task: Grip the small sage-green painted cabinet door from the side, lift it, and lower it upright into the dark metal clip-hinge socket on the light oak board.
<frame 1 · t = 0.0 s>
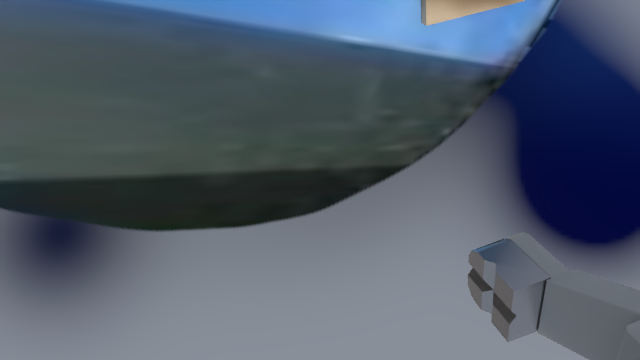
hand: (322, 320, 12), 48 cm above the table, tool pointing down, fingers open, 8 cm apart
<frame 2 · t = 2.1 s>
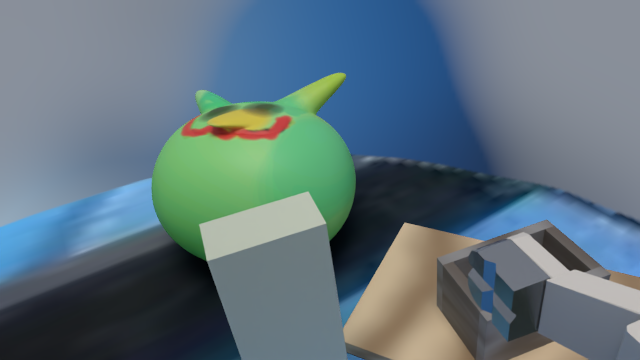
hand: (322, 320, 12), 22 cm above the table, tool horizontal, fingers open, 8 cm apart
toy bird: (271, 238, 49), on the table
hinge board: (497, 320, 38), on the table
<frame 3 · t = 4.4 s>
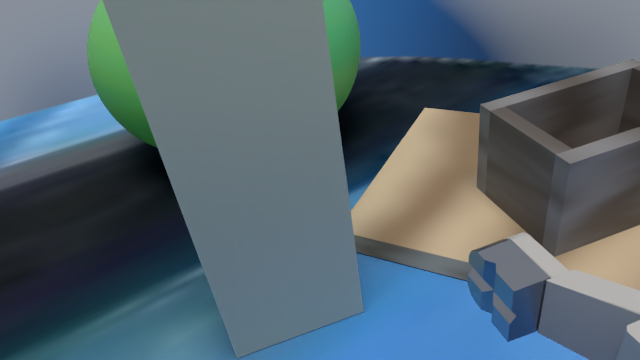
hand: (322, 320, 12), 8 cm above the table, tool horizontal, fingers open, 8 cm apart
cabinet door: (292, 310, 24), on the table
toy bird: (252, 138, 38), on the table
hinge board: (563, 206, 27), on the table
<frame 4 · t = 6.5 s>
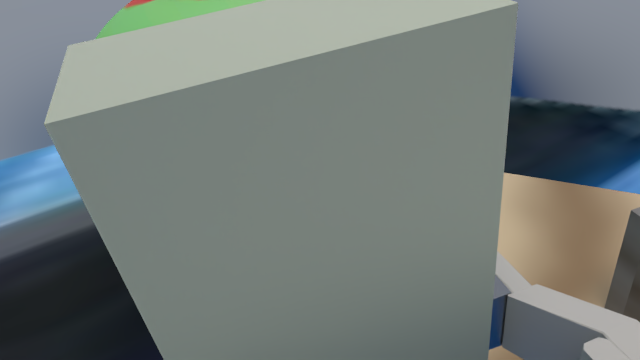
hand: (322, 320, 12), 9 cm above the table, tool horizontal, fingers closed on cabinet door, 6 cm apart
toy bird: (282, 203, 31), on the table
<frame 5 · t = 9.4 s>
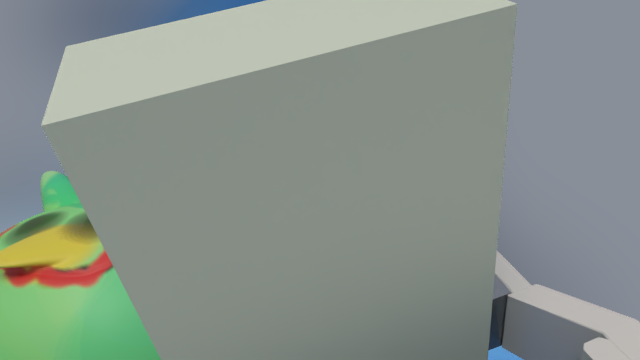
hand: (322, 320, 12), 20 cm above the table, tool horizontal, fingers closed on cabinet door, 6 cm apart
when the fingers open (11 cm above the table, at t = 12.4 s): cabinet door drops 1 cm, resting on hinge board.
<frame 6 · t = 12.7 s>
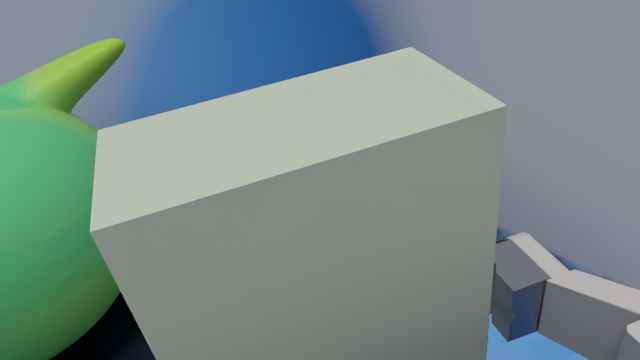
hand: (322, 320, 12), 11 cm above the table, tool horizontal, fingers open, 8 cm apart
toy bird: (30, 316, 30), on the table
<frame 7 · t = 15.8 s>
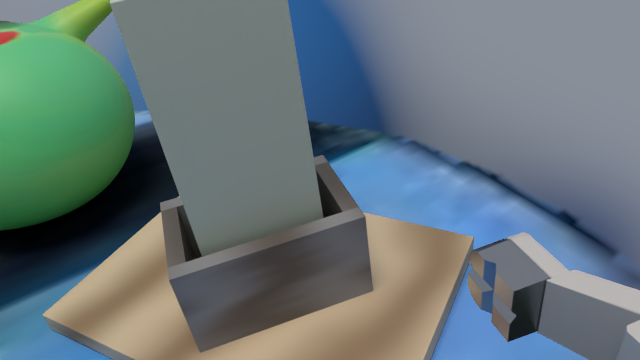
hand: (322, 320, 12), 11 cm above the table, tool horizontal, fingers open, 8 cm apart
cabinet door: (273, 281, 27), point 1 cm above the table, touching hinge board
toy bird: (52, 199, 40), on the table
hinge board: (264, 290, 29), on the table
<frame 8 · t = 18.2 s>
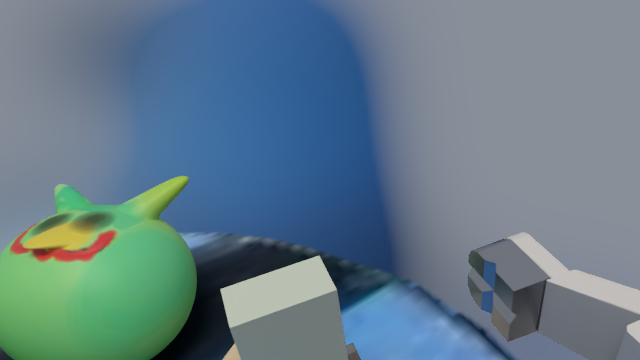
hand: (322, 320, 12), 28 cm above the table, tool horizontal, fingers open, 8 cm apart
toy bird: (127, 332, 50), on the table
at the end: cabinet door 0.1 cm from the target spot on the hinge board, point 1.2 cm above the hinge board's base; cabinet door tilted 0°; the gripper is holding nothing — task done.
